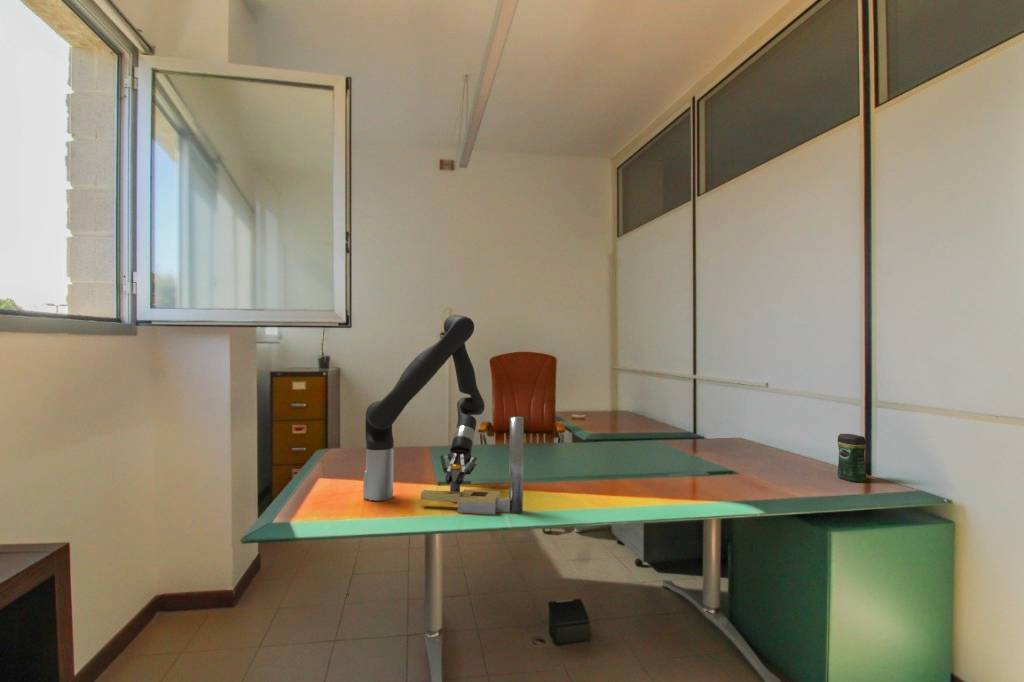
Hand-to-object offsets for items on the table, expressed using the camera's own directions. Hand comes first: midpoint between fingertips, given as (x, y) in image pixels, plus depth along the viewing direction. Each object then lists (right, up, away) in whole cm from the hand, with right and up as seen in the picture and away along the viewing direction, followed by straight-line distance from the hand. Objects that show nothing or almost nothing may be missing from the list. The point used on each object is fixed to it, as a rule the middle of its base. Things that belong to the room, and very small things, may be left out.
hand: (453, 483), depth 172 cm
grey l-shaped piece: (+7, -6, -8) cm, 12 cm away
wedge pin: (0, -4, +2) cm, 5 cm away
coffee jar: (+159, -9, +34) cm, 163 cm away
